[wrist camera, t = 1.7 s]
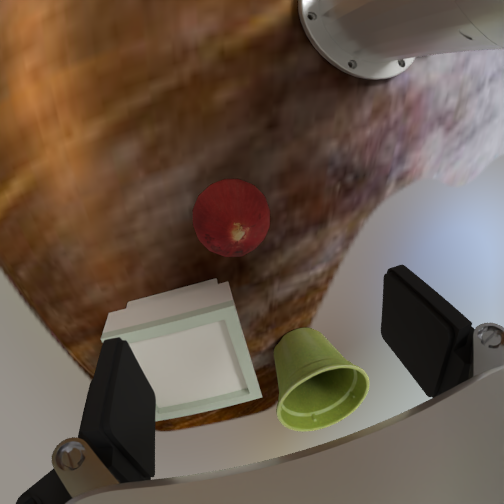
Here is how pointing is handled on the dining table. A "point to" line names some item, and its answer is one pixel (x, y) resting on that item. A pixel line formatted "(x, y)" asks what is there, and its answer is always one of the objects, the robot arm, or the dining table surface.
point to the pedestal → (188, 348)
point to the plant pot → (315, 382)
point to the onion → (231, 217)
